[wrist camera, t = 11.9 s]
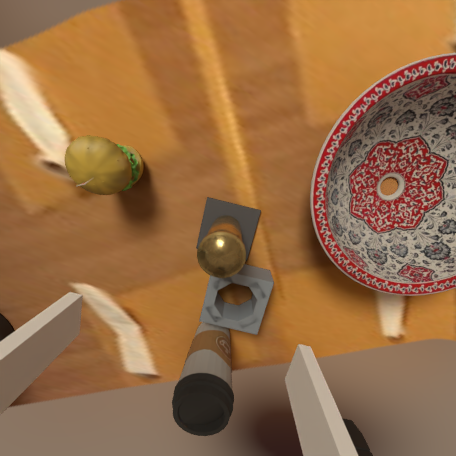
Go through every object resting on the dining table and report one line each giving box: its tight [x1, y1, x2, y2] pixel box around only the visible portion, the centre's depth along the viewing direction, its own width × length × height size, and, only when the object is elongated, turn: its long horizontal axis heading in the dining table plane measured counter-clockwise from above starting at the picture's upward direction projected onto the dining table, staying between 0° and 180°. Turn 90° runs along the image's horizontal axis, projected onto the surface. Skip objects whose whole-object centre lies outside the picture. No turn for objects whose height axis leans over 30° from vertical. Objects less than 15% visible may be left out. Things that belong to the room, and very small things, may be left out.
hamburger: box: [65, 135, 143, 195], centre depth 30 cm, size 8×7×12 cm
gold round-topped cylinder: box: [197, 215, 246, 278], centre depth 31 cm, size 6×6×12 cm
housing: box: [200, 264, 274, 335], centre depth 38 cm, size 10×10×4 cm
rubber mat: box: [196, 197, 261, 261], centre depth 37 cm, size 9×9×1 cm
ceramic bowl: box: [310, 53, 456, 296], centre depth 31 cm, size 29×29×8 cm
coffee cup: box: [172, 322, 234, 436], centre depth 35 cm, size 8×8×15 cm
